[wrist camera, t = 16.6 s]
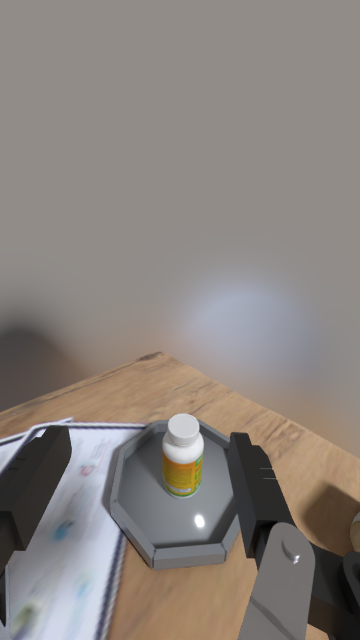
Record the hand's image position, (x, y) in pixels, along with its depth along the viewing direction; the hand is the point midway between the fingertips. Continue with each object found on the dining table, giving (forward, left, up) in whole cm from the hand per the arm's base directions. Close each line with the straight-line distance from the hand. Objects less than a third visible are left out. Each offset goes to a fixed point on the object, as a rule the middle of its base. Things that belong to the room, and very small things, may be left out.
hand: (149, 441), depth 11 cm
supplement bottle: (-7, +12, -22) cm, 26 cm away
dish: (-7, +12, -23) cm, 27 cm away
